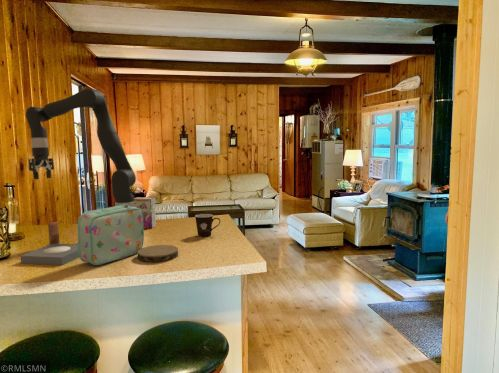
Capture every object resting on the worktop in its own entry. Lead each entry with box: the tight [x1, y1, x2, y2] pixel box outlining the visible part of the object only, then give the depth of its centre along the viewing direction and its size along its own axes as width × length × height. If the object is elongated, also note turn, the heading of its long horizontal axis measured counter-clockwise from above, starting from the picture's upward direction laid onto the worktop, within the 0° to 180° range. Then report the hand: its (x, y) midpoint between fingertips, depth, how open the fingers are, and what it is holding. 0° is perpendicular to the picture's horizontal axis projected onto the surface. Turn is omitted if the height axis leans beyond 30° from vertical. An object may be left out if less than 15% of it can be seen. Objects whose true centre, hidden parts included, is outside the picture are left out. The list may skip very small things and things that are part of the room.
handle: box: [46, 221, 64, 246], centre depth 166 cm, size 6×6×11 cm
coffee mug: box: [194, 213, 221, 238], centre depth 183 cm, size 12×9×10 cm
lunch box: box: [77, 204, 145, 266], centre depth 148 cm, size 27×10×21 cm, turn 149°
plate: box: [20, 243, 80, 266], centre depth 151 cm, size 18×18×3 cm
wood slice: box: [137, 244, 179, 264], centre depth 150 cm, size 16×16×3 cm
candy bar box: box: [134, 196, 157, 229], centre depth 204 cm, size 11×5×16 cm, turn 77°
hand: (42, 178), depth 190 cm, fingers open, 8 cm apart
